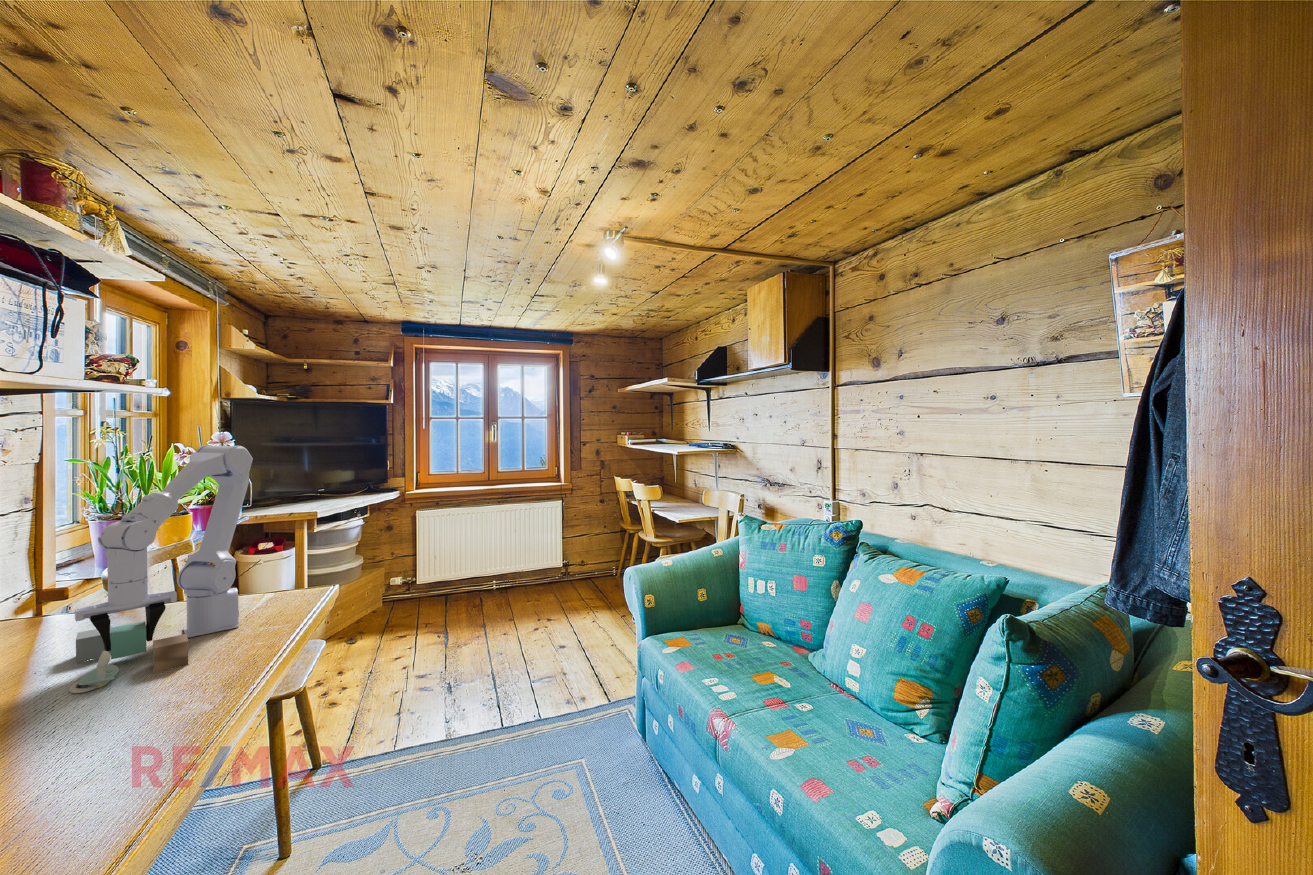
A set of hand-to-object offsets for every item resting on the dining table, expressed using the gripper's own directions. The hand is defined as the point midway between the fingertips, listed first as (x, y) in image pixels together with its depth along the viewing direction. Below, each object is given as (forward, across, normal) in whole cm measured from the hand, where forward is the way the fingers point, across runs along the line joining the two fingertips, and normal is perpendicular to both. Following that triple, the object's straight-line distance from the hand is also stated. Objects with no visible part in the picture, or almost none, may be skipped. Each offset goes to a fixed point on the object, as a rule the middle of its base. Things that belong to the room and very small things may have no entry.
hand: (128, 644), depth 106 cm
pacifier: (+4, +6, +9) cm, 11 cm away
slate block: (+3, +4, -9) cm, 10 cm away
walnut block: (+3, -5, +9) cm, 11 cm away
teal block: (+1, 0, 0) cm, 1 cm away
